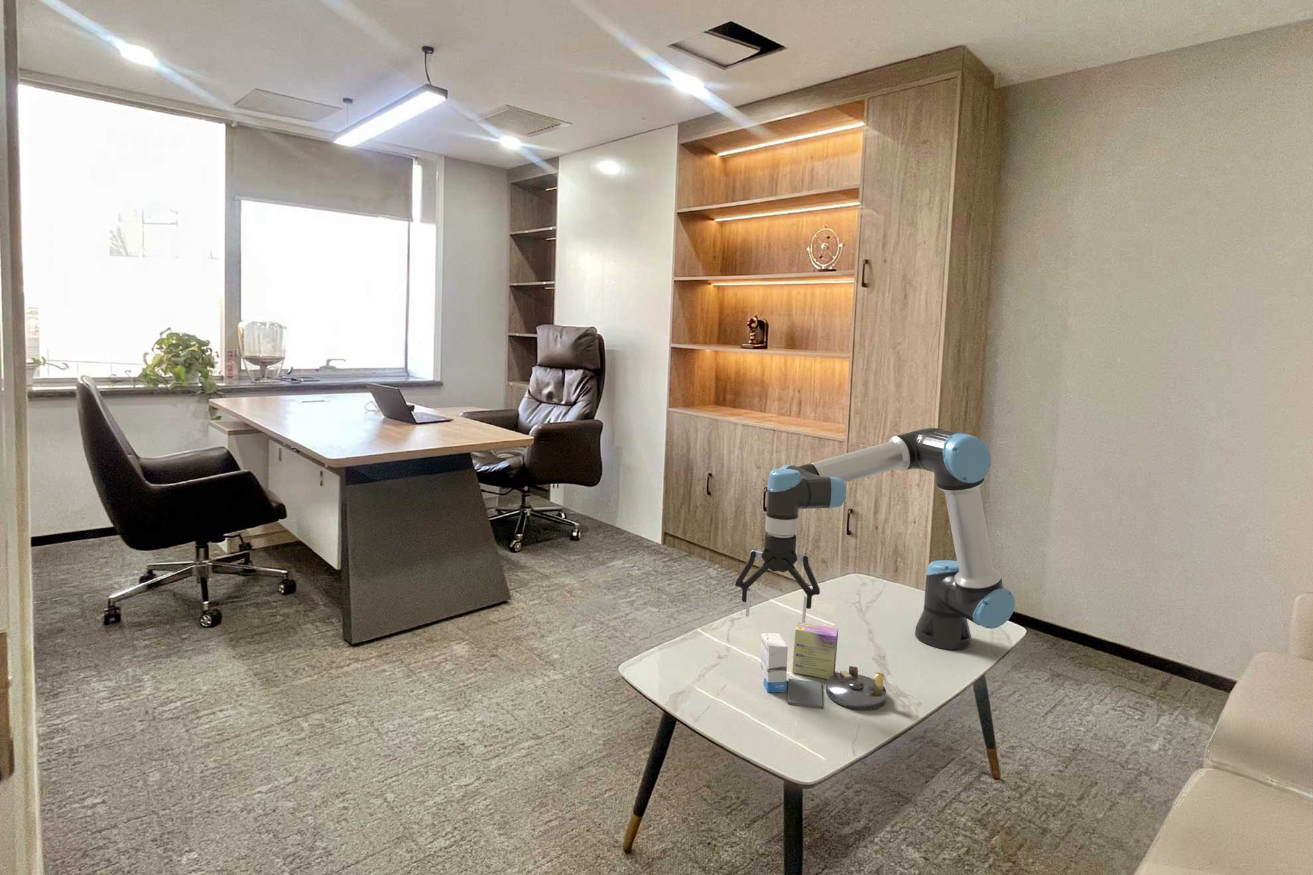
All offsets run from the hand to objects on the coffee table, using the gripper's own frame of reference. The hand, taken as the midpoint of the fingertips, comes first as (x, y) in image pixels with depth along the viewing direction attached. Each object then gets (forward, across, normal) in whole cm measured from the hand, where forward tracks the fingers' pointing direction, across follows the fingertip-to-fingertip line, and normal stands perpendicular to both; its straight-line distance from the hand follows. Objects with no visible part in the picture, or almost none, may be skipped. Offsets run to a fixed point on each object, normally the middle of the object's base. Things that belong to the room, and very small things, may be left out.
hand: (775, 617), depth 180 cm
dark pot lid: (+17, -20, +1) cm, 27 cm away
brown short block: (+17, -20, -8) cm, 28 cm away
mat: (+17, -8, +3) cm, 19 cm away
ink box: (+18, 0, 0) cm, 18 cm away
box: (+18, -11, -10) cm, 23 cm away
